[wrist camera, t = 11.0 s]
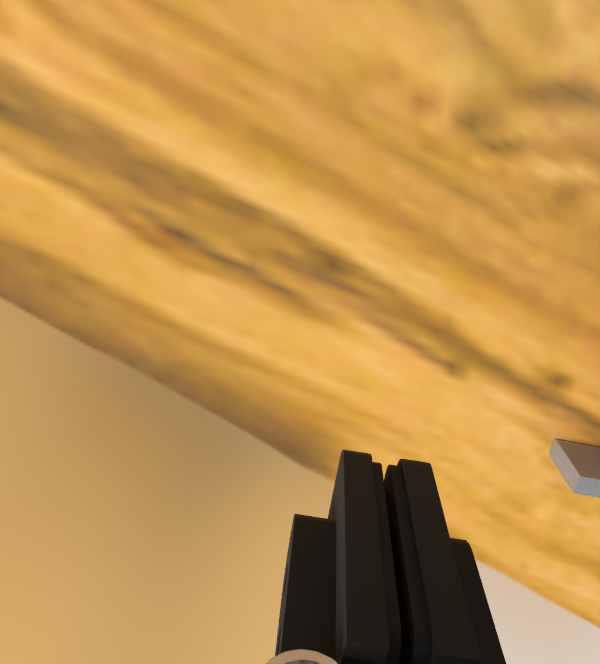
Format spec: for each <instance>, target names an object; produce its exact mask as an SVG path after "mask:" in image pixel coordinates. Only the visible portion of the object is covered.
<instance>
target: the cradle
mask: <svg viewBox="0 0 600 664" xmlns="http://www.w3.org/2000/svg"><path fill="white" fill-rule="evenodd" d="M549 455H550V456H551V458H552V460H553V461H554V463H555V464H556V466H557V468H558V469H559V471H560V472H561V474H562V476H563V477H564V479H565V481H566V482H567V484H568V485H569V487H570V489H571V490H572V492H573V493H577V494H582V495H587V496H593V497H598V498H600V447H596V446H590V445H585V444H580V443H575V442H569V441H564V440H559V439H555V441H554V443H553V446H552V448H551V451H550V453H549Z"/></svg>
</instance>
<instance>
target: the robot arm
mask: <svg viewBox="0 0 600 664" xmlns="http://www.w3.org/2000/svg"><path fill="white" fill-rule="evenodd" d="M267 664H506V662H505V659H504V655H503V652H502V649H501V645H500V642H499V639H498V635H497V632H496V629H495V625H494V622H493V619H492V615H491V612H490V609H489V605H488V603H487V599H486V595H485V592H484V589H483V585H482V582H481V579H480V576H479V572H478V569H477V565H476V562H475V559H474V555H473V552H472V549H471V547H470V544H469V543H468V542H467V541H466V540H461V539H454V538H450V537H449V533H448V529H447V525H446V521H445V517H444V513H443V509H442V505H441V502H440V498H439V494H438V490H437V486H436V482H435V478H434V474H433V471H432V467H431V464H430V463H426V462H420V461H413V460H407V459H400V460H399V462H398V465H397V466H395V465H388V467H387V470H386V474H385V478H384V481H383V472H382V465H381V463H376V462H372V456H371V454H368V453H361V452H355V451H348V450H342V453H341V456H340V461H339V466H338V471H337V476H336V481H335V486H334V491H333V495H332V500H331V505H330V510H329V515H328V519H324V518H317V517H312V516H305V515H299V514H295V515H294V519H293V524H292V530H291V536H290V542H289V548H288V554H287V561H286V568H285V575H284V584H283V592H282V599H281V609H280V617H279V627H278V635H277V643H276V652H275V657H273V658H272V659H270V660H269V661H268V662H267Z"/></svg>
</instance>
